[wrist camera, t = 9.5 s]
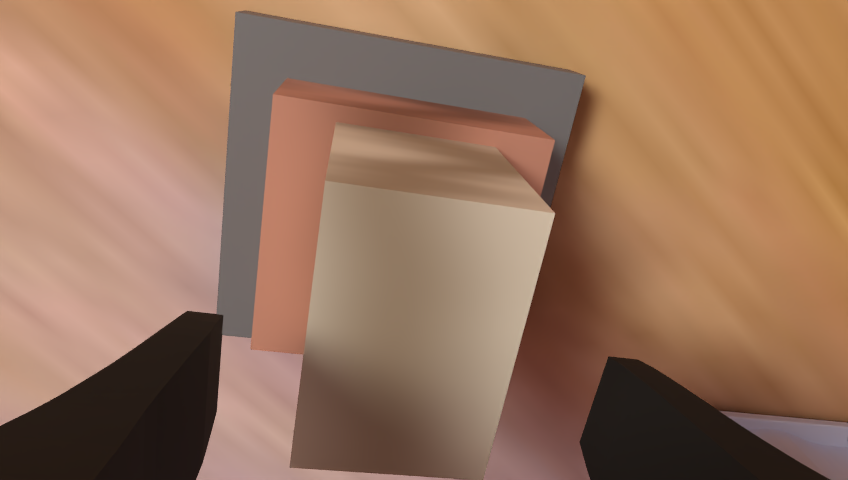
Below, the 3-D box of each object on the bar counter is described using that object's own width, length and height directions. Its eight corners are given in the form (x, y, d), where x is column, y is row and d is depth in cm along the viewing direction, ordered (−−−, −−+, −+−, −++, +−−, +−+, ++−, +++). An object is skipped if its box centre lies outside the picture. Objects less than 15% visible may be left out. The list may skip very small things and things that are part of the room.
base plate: (569, 69, 19) (585, 75, 18) (499, 341, 23) (508, 363, 21) (245, 10, 18) (235, 11, 16) (225, 311, 21) (215, 334, 20)
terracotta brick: (524, 118, 18) (555, 140, 15) (476, 322, 20) (494, 373, 18) (287, 78, 17) (272, 94, 14) (266, 298, 19) (250, 349, 17)
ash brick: (495, 147, 15) (555, 213, 11) (449, 351, 17) (482, 480, 13) (335, 122, 14) (325, 180, 10) (309, 336, 17) (289, 467, 12)
